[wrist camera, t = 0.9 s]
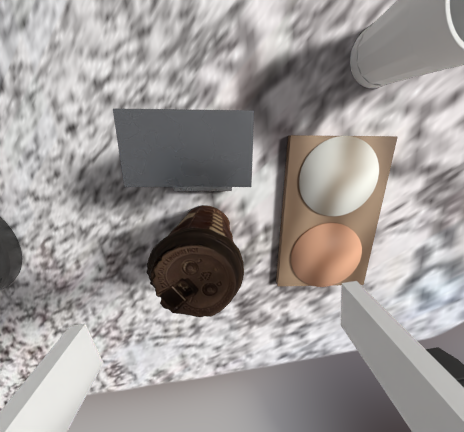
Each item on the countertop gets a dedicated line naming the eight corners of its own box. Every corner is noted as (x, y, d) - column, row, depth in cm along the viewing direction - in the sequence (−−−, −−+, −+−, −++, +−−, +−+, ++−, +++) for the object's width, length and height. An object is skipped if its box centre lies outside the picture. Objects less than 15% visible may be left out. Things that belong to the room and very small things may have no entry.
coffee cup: (174, 252, 31) (142, 323, 19) (173, 196, 29) (135, 235, 16) (235, 254, 32) (242, 325, 19) (239, 199, 29) (250, 239, 17)
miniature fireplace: (169, 187, 28) (129, 220, 16) (164, 125, 26) (112, 108, 14) (238, 187, 29) (250, 219, 16) (239, 126, 26) (253, 110, 14)
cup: (384, 108, 26) (508, 80, 15) (329, 76, 25) (418, 18, 14) (427, 36, 24) (610, -62, 13) (369, -3, 23) (515, -150, 11)
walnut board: (276, 281, 33) (278, 287, 32) (288, 135, 27) (291, 135, 25) (358, 280, 34) (364, 286, 32) (390, 136, 27) (399, 136, 26)
